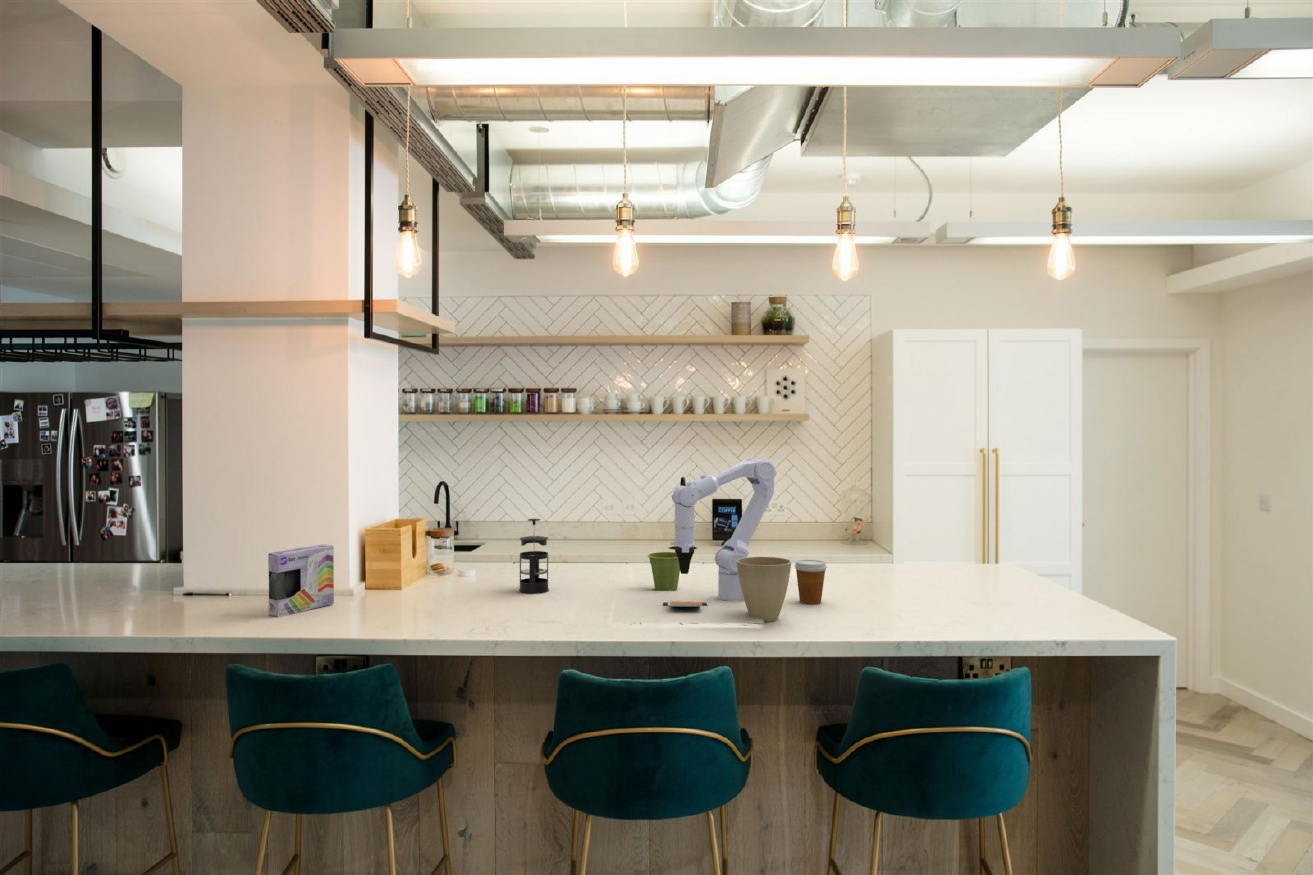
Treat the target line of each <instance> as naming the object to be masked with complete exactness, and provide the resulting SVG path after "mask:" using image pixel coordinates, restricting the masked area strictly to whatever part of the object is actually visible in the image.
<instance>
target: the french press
mask: <svg viewBox="0 0 1313 875" xmlns="http://www.w3.org/2000/svg"><path fill="white" fill-rule="evenodd" d="M527 521H528V522H532V526H533V531H532V532H533V533H532V534H533V535H528V536H522V537H520V538H519V540H520V545H521V546H522V547H524V546H526V545H527V544H532V545H533V549H532V550H533V551H532V550H529V551H523V552H520V553H519V589H518V592H519V593H521V594H526V595H536V594H539V595H540V594H544V593H548V592H549V590H550V589H549V552H548V551H543V550H542V551H541V550H535V547H536V545H535V544H539V545H541V546H543V547H545V546H547V545H548V544H547V543H548V542H547V541H548V540H549V537H547V536H542V535H535V533H536V532H535V526H536V525H537V524H536V522H539V521H541V519H540V518H535V517H534V518H533V517H532V518H528V519H527ZM544 559H545V560H546V569H545V568H540V560H544ZM522 560H529V567H528V568H525V569H522ZM522 574H523V575H525V576H526V575H527V576H529V577H527V578H522ZM544 574H546V577H545V578H544V577H540V575H544Z"/></svg>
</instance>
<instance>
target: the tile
mask: <svg viewBox="0 0 1313 875" xmlns="http://www.w3.org/2000/svg"><path fill="white" fill-rule="evenodd" d="M669 606H671V607H672V608H673V607H681V608H683V607H689V608H690V607H691V608H692V607H702V601H701V600H669Z"/></svg>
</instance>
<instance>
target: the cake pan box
mask: <svg viewBox="0 0 1313 875" xmlns="http://www.w3.org/2000/svg"><path fill="white" fill-rule="evenodd" d="M334 546H335V545H330V544H326V543H323V544H317V545H310V546H302V547H295V548H290V549H285V550H280V551H279V550H278V551H273V552H268V554H267V557H268V560H267V561H268V616H270V617H274V618H275V617H276V618H281V617H285V616H289V615H293V614H297V613H298V614H299V613H302V612H305V611H310V610H314V609H319V608H321V607H326V606H329V605H333V604H334V603H335V591H334V589H335V576H334V573H335V572H334V570H335V569H334V566H335V564H334V562H335V561H334V558H335V556H334V554H335V553H334V550H335V548H334Z"/></svg>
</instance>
